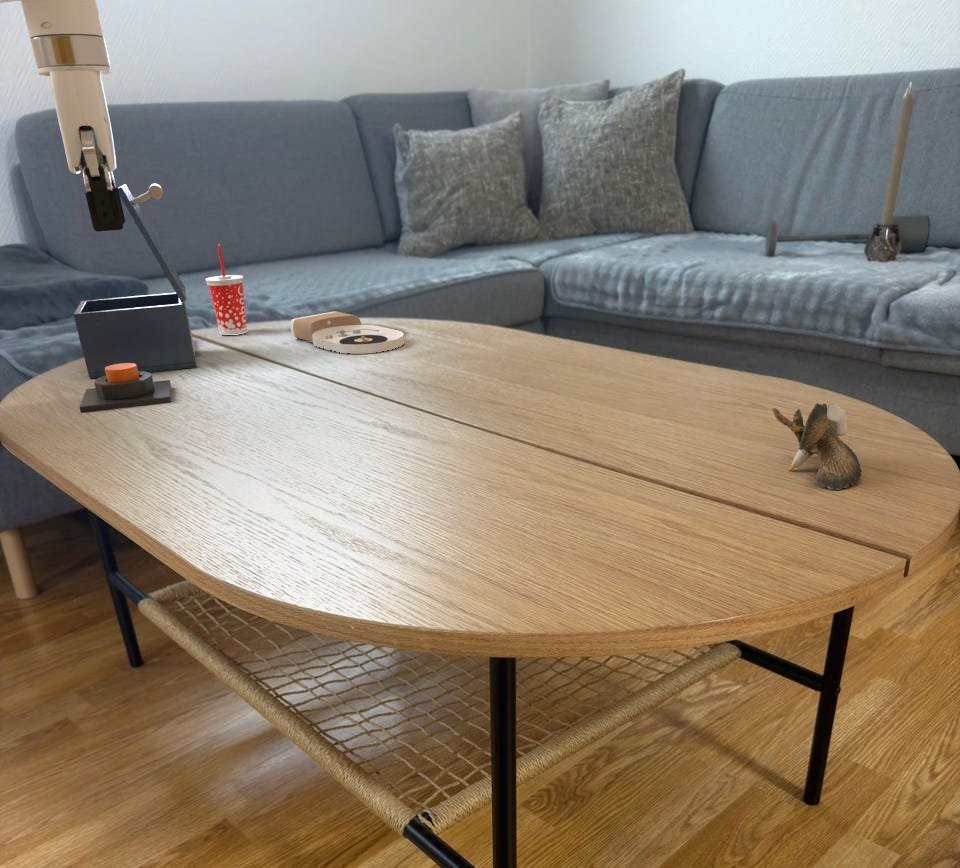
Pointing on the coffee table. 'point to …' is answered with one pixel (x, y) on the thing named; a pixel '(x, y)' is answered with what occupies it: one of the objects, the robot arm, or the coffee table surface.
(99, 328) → the dark grey box
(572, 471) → the coffee table surface
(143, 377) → the control block
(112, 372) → the button
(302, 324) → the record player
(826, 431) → the eagle figurine
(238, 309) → the beverage cup
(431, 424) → the coffee table surface
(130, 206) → the lid
